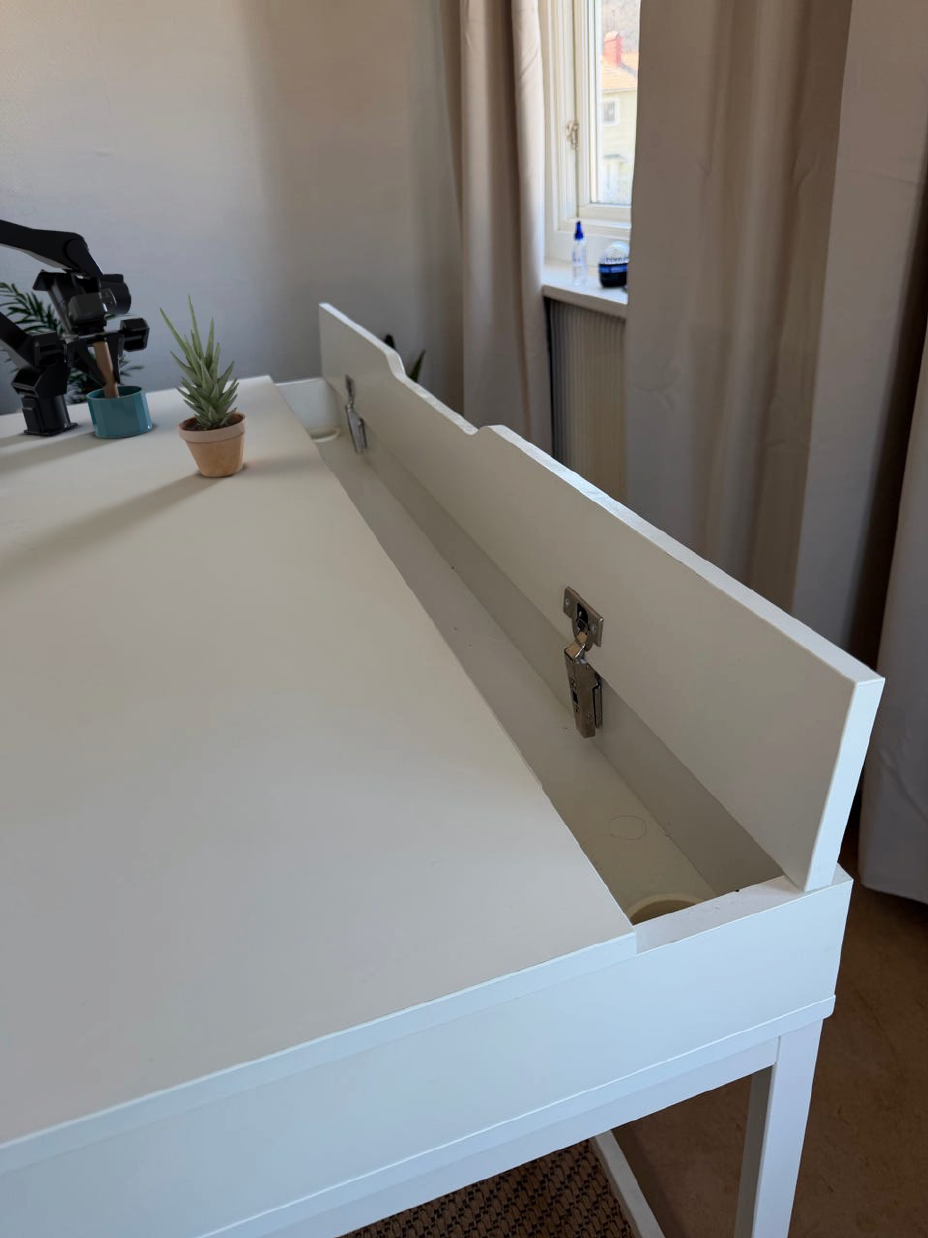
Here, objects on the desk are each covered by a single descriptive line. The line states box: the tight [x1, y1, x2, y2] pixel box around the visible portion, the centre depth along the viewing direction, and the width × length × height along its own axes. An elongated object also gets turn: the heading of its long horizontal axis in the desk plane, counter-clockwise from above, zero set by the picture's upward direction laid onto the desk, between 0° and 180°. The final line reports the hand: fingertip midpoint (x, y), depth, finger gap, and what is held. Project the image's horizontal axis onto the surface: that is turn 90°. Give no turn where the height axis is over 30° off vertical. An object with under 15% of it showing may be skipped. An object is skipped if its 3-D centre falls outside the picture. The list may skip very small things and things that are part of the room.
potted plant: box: [158, 292, 249, 478], centre depth 130 cm, size 10×10×25 cm
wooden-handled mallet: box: [93, 341, 124, 399], centre depth 156 cm, size 4×4×13 cm
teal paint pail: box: [85, 384, 153, 439], centre depth 157 cm, size 9×9×6 cm
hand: (111, 383), depth 155 cm, fingers closed on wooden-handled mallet, 2 cm apart
